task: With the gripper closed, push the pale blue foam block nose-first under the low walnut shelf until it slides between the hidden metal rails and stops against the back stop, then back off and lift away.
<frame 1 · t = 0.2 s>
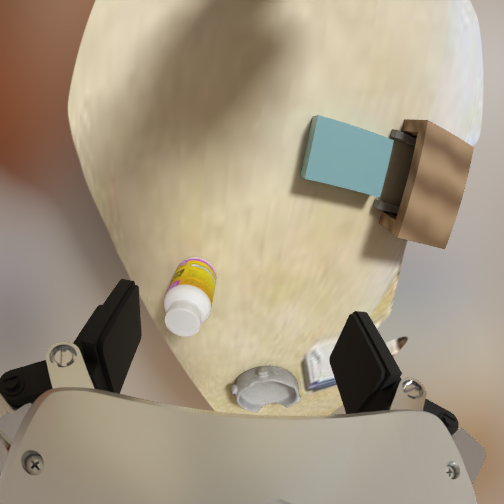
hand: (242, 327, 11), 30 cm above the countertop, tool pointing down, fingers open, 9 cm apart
dish: (265, 380, 57), on the countertop
pale blue foam block: (344, 155, 37), on the countertop
supplement bottle: (196, 273, 44), on the countertop
shelf dock: (416, 179, 38), on the countertop
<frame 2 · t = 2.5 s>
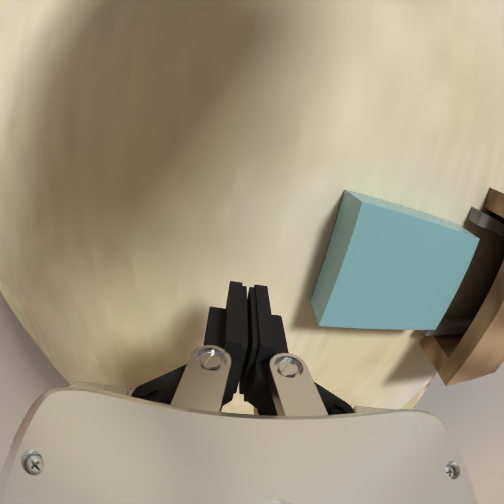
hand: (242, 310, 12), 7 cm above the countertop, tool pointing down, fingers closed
pale blue foam block: (393, 261, 20), on the countertop
shelf dock: (482, 278, 21), on the countertop
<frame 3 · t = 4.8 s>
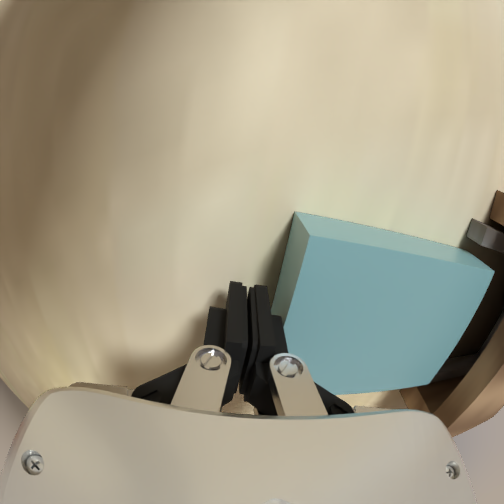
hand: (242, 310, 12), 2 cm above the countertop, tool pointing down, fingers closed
pale blue foam block: (373, 305, 15), on the countertop, touching gripper
shelf dock: (484, 309, 16), on the countertop
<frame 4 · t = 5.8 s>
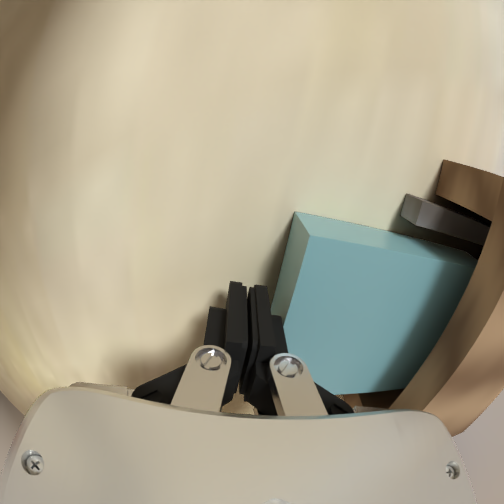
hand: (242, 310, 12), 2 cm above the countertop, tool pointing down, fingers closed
pale blue foam block: (372, 305, 15), on the countertop, touching gripper
shelf dock: (445, 307, 15), on the countertop
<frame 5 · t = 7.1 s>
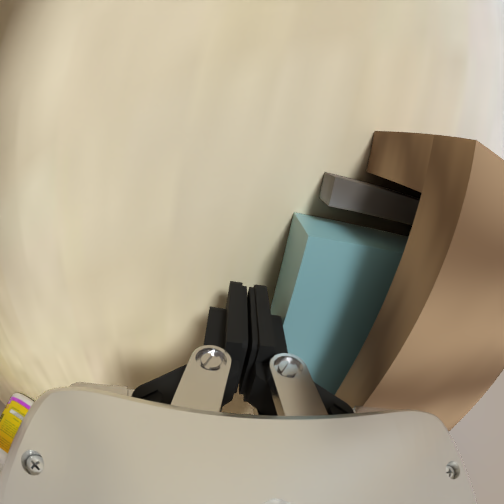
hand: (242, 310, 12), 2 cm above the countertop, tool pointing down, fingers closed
pale blue foam block: (372, 306, 14), on the countertop, touching gripper, shelf dock
supplement bottle: (34, 407, 21), on the countertop
shelf dock: (400, 306, 15), on the countertop
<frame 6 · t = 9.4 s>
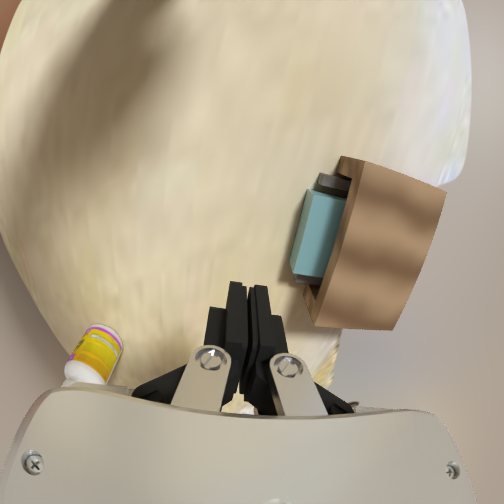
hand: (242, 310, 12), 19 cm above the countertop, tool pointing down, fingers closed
pale blue foam block: (344, 235, 32), on the countertop
supplement bottle: (106, 337, 38), on the countertop
shelf dock: (359, 237, 32), on the countertop
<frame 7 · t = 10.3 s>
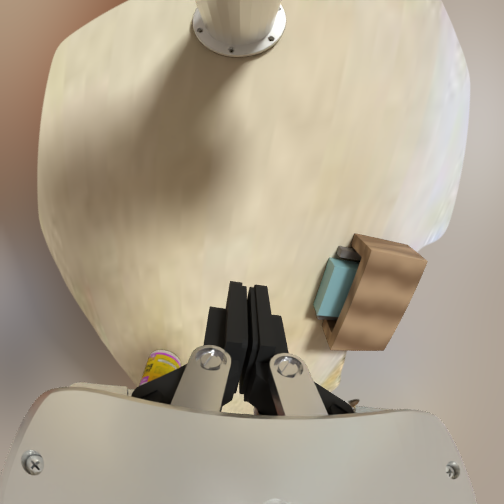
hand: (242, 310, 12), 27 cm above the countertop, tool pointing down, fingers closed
pale blue foam block: (352, 286, 44), on the countertop
supplement bottle: (165, 359, 50), on the countertop
shelf dock: (362, 286, 44), on the countertop
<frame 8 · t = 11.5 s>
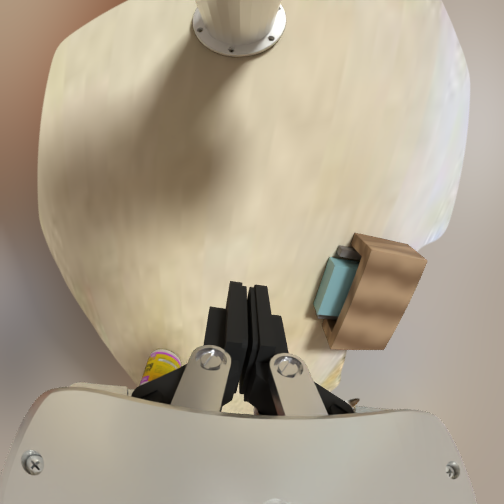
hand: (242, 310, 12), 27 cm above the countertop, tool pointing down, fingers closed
pale blue foam block: (352, 285, 44), on the countertop
supplement bottle: (165, 358, 50), on the countertop
shelf dock: (363, 286, 44), on the countertop
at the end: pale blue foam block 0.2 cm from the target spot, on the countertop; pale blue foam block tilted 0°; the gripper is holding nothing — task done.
